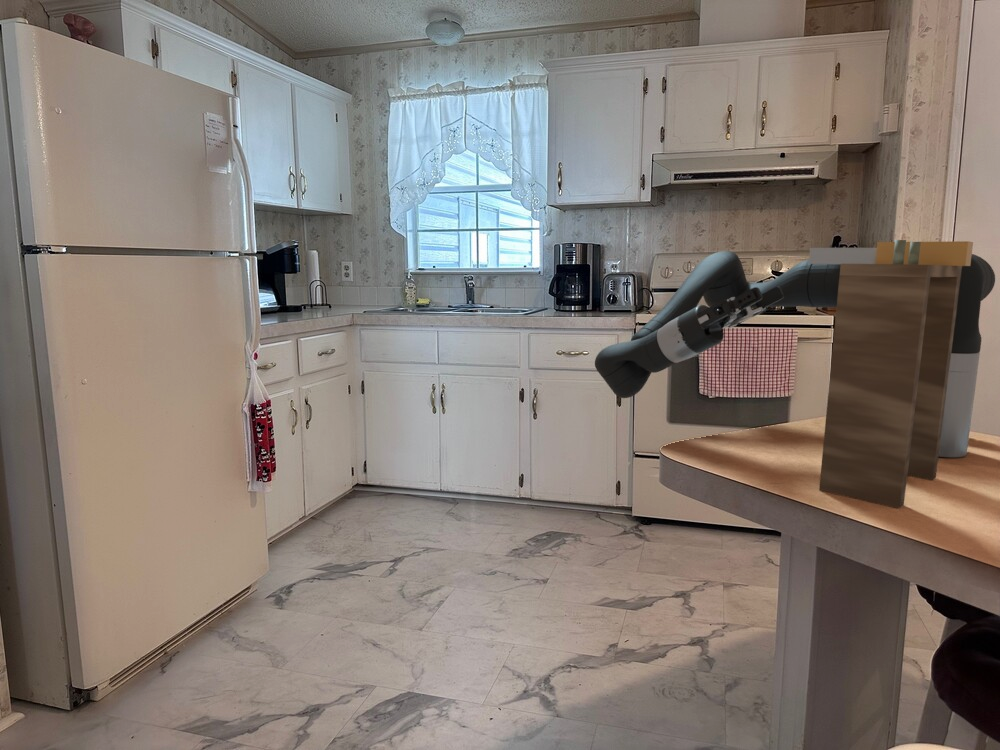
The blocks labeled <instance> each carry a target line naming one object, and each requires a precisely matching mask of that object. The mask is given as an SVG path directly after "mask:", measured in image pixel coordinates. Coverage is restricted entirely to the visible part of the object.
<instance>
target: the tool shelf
mask: <svg viewBox="0 0 1000 750" xmlns="http://www.w3.org/2000/svg"><path fill="white" fill-rule="evenodd" d="M894 242H895V246H894V255H893V264H841V266H840V277H839V287H838V298H837V307H835V318H834V319H835V320H834V330H833V342H832V351H831V352H832V353H831V362H830V372H829V382H828V393H827V395H828V396H827V403H826V404H827V406H826V415H825V426H824V436H823V445H822V455H821V456H822V457H821V466H820V467H821V468H820V476H819V478H820V479H819V485H818V486H819V487H818V489H819V490H818V491H820V492H821V491H822V492H825V493H830V494H834V495H839V496H843V497H847V498H851V499H855V500H858V501H865V502H868V503H872V504H877V505H882V506H886V507H890V508H895V509H900V510H901V508H902V507H903V506H904V505H905V499H906V498H905V497H906V489H907V482H908V481H907V480H908V477H914V478H918V479H922V480H928V481H934V480H935V479H936V477H937V471H938V463H939V457H940V456H939V448H940V440H941V432H942V424H943V416H944V408H945V399H946V391H947V383H948V375H949V367H950V359H951V351H952V343H953V335H954V327H955V319H956V310H957V302H958V294H959V286H960V278H961V270H962V266H948V265H918V262H919V254H920V245H921V242H922V241H909V242H910V249H909V258H908V264H904V255H905V246H906V242H907V240H906V239H895V240H894Z"/></svg>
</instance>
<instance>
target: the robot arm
mask: <svg viewBox="0 0 1000 750" xmlns="http://www.w3.org/2000/svg"><path fill="white" fill-rule="evenodd" d="M840 266H841V264H809V259H805V260H802V261H800V262H798V263H796V264H794V265H793V266H792V267H790V268H789V269H787V270H786V271H785V272H783V273H782V274H781V275H779V276H777V277H775V278H774V279H772V280H769V281H763V282H750V281H748V280H747V277H746V273H745V270H744V268H743V264H742V262H741V259H740V258H739V256H738V254H737V253H736V252H733V251H730V250H722V251H717V252H714V253H711V254H710V255H708V256H706V257H704V258H703V259H702V260H701V261H700V262H699V263H698V264H697V265H696V266H695V267H694V269H692V271H691V272H690V274H689V275H688V276H687V277H686V278H685V280H684V281H683V283H681V284H680V286H679V288H678V289H677V290H676V291H675V292H674V294H673V296H672V297H671V298H670V299H669V301H667V302H666V303H665V305H664V306H663V307H662V309H660V310H659V312H658V313H656V315H654V316H653V317H652V318H651V319H649V321H648V322H646V324H645V325H643V326H642V327H641V328H640V329H639V330H637V332H635V333H634V334H633V336H631V339H630V340H629V341H625V342H624V341H623V342H617V343H614V344H611V345H608V346H606V347H604V348H603V349H602V350H600V351H599V352H598V354H597V355H596V356H595V359H594V367H595V370H596V371H597V372H598V373H599V375H600V376H601V377H602V378H603V380H604V382H605V383H606V385H607V386H608V387H609V388H610V390H611V391H612V392H613V394H615V396H617V397H618V398H620V399H630V398H631V397H634V396H635V395H638V393H639V392H640V391H641V390H642V389H643V388H644V387H645V385H646V384H647V381H648V380H649V378H650V376H651V374H652V373H653V374H655V373H658V372H661V371H664V370H665V369H669V368H670V367H672V366H674V365H676V364H678V363H680V362H684V361H686V360H689V359H691V358H693V357H695V356H697V355H700V354H701V353H703V352H705V351H707V350H709V349H711V348H713V347H715V346H717V345H719V344H721V343H722V342H723V339H724V333H725V332H724V329H726V328H728V329H730V328H733V327H736V326H737V325H741V323H744V322H745V321H748V320H749V319H752V318H754V317H756V316H757V315H760V314H763V313H766V311H767V310H768V309H767V308H771V307H772V308H774V307H775V308H777V307H778V308H779V307H780V308H781V307H786V308H787V307H806V308H807V307H808V308H837V298H838V287H839V277H840ZM995 283H996V275H995V270H994V269H993V267H992V266H991V264H989V262H988V261H986V260H985V259H984V258H982V257H981V256H978V255H976V254H973V253H972V256H971V264H970V266H962V270H961V278H960V286H959V294H958V302H957V310H956V319H955V327H954V335H953V343H952V351H951V359H950V367H949V375H948V383H947V391H946V399H945V408H944V416H943V424H942V432H941V440H940V448H939V456H938V457H941V458H942V457H943V458H963V457H966V456H967V455H968V449H969V447H968V446H969V440H970V439H969V438H970V432H971V424H972V416H973V408H974V403H975V401H974V400H975V394H976V388H977V386H976V385H977V380H978V370H979V362H980V356H981V355H980V353H981V347H982V334H981V333H980V325H979V324H980V314H981V313H980V311H981V305H982V301H983V300H985V299H986V298H987V297H988V296H989V295H990V293H991V292H992V291H993V288H994V287H995ZM702 298H703V299H704V302H705V304H706V305H704V304H699V303H700V301H701V299H702Z"/></svg>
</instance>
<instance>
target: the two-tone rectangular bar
mask: <svg viewBox="0 0 1000 750" xmlns="http://www.w3.org/2000/svg"><path fill="white" fill-rule="evenodd" d="M910 242H911V241H906V246H905V255H904V264H908V258H909V249H910ZM920 242H921V245H920V254H919V262H918V265H948V266H970V264H971V256H972V254H973V246H974V242H972V241H963V240H962V241H960V240H959V241H953V240H952V241H920ZM876 244H877V245H876V247H810V248H809V257H808V258H809V264H893V255H894V246H895V241H877V243H876Z"/></svg>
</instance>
